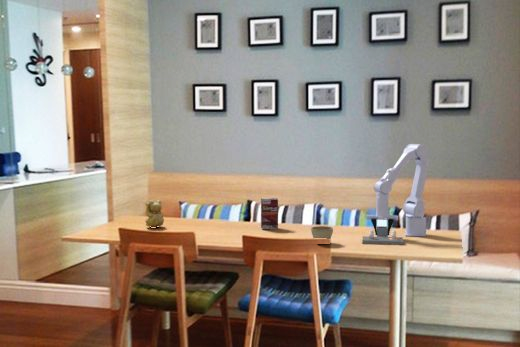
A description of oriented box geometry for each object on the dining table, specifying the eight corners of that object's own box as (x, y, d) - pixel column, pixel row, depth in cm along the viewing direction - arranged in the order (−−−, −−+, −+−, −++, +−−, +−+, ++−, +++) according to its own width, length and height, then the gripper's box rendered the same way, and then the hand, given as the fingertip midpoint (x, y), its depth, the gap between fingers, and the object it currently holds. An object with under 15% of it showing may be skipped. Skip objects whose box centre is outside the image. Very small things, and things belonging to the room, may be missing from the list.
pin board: (402, 240, 258) (402, 228, 257) (403, 244, 249) (403, 232, 248) (362, 239, 261) (362, 227, 261) (362, 243, 252) (362, 231, 252)
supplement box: (262, 230, 288) (261, 199, 286) (260, 228, 292) (260, 198, 291) (278, 229, 289) (278, 199, 287) (277, 227, 293) (276, 197, 292)
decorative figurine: (161, 225, 303) (160, 198, 302) (166, 228, 296) (166, 200, 295) (144, 227, 299) (143, 199, 297) (149, 229, 292) (148, 201, 290)
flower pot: (309, 241, 258) (309, 226, 257) (330, 241, 259) (330, 225, 258) (313, 246, 248) (313, 230, 247) (335, 245, 249) (335, 229, 248)
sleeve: (387, 236, 267) (387, 226, 266) (387, 238, 262) (387, 228, 261) (376, 236, 268) (376, 226, 267) (376, 238, 263) (376, 228, 262)
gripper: (366, 207, 261) (366, 236, 262) (398, 207, 258) (398, 236, 259) (366, 205, 268) (366, 233, 269) (397, 205, 265) (397, 233, 266)
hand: (382, 234), depth 265 cm, fingers closed on sleeve, 5 cm apart
